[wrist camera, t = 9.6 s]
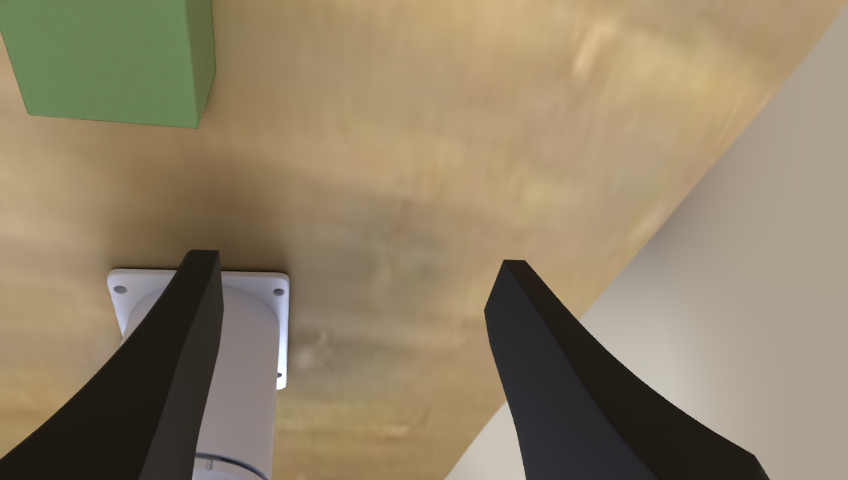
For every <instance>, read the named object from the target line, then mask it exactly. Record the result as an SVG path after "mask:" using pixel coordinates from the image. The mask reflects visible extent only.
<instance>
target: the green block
mask: <svg viewBox="0 0 848 480" xmlns="http://www.w3.org/2000/svg"><path fill="white" fill-rule="evenodd" d="M0 31H1V34H2V37H3V40H4V43H5V46H6V49H7V52H8V55H9V58H10V61H11V65H12V68H13V71H14V74H15V77H16V80H17V83H18V86H19V89H20V92H21V95H22V98H23V101H24V104H25V107H26V110H27V113H28V114H29V115H35V116H48V117H60V118H72V119H84V120H96V121H108V122H121V123H133V124H145V125H157V126H169V127H181V128H194V129H197V128H198V127H199V124H200V121H201V118H202V114H203V111H204V108H205V104H206V101H207V98H208V95H209V91H210V88H211V85H212V82H213V78H214V75H215V72H216V63H215V49H214V35H213V20H212V6H211V0H0Z"/></svg>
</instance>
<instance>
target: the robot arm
mask: <svg viewBox="0 0 848 480" xmlns="http://www.w3.org/2000/svg"><path fill="white" fill-rule="evenodd" d="M106 282H107V285H108V289H109V292H110V296H111V299H112V303H113V306H114V310H115V313H116V317H117V320H118V324H119V327H120V331H121V334H122V341H121V344H120V347H119V349H118V350H117V351H116V353H115V354H114V355H113V356H112V357H111V358H110V359H109V360H108V361H107V363H106V364H105V365H104V366H103V367H102V368H101V369H100V370H99V371H98V372H97V373H96V374H95V375H94V376H93V377H92V378H91V379H90V380H89V381H88V382H87V383H86V384H85V385H84V386H83V387H82V388H81V389H80V390H79V391H78V392H77V393H76V394H75V395H74V396H73V397H72V398H71V399H70V400H69V401H68V402H67V403H66V404H65V405H64V406H63V407H61V408H60V409H59V410H58V411H57V412H56V413H55V414H54V415H53V416H52V417H50V418H49V419H48V420H47V421H46V422H45V423H44V424H43V425H41V426H40V427H39V428H38V429H37V430H35V431H34V432H33V433H32V434H31V435H29V436H28V437H27V438H26V439H24V440H23V441H22V442H21V443H20V444H18V445H17V446H16V447H15V448H14V449H12V450H11V451H10V452H9V453H8V454H6V455H5V456H4V457H3V458H1V459H0V480H271V475H272V458H273V441H274V424H275V408H276V391H277V389H281V388H284V387H285V386H286V378H287V348H288V318H289V288H290V279H289V277H288V276H287V275H286V274H284V273H273V272H231V271H221V266H220V254H219V250H191V251H189V252H188V253H187V254H186V256H185V258H184V259H183V261H182V263H181V265H180V266H179V268H178V270H146V269H113V270H111V271H110V272H109V273H108V275H107V278H106ZM120 286H123V287H120ZM278 288H279V289H282V290H277V289H278ZM484 313H485V320H486V326H487V332H488V337H489V342H490V346H491V350H492V353H493V357H494V360H495V363H496V366H497V370H498V373H499V376H500V379H501V382H502V385H503V388H504V392H505V395H506V398H507V401H508V404H509V407H510V411H511V414H512V417H513V420H514V424H515V427H516V431H517V436H518V441H519V446H520V451H521V455H522V460H523V465H524V470H525V476H526V480H770V479H769V478H768V476H767V474H766V473H765V471H764V469H763V468H762V466H761V465H760V463H759V462H758V460H757V458H756V457H755V455H753V454H751V453H750V452H748V451H746V450H744V449H743V448H741V447H739V446H738V445H736V444H734V443H732V442H731V441H729V440H727V439H726V438H724V437H722V436H720V435H719V434H717V433H715V432H714V431H712V430H711V429H709V428H707V427H706V426H704V425H703V424H701V423H699V422H698V421H697V420H695V419H694V418H692V417H691V416H689V415H688V414H686V413H685V412H683V411H682V410H680V409H679V408H677V407H676V406H674V405H673V404H672V403H670V402H669V401H668V400H666V399H665V398H664V397H662V396H661V395H660V394H658V393H657V392H656V391H654V390H653V389H652V388H650V387H649V386H648V385H647V384H645V383H644V382H643V381H641V380H640V379H639V378H638V377H637V376H635V375H634V374H633V373H632V372H631V371H630V370H629V369H627V368H626V367H625V366H624V365H623V364H622V363H621V362H619V361H618V360H617V359H616V358H615V357H614V356H613V355H612V354H611V353H609V352H608V351H607V350H606V349H605V348H604V347H603V346H602V345H601V344H600V343H599V342H598V341H597V340H596V339H595V338H594V337H593V336H592V335H591V334H590V333H589V332H588V331H587V330H586V329H585V328H584V327H583V326H582V325H581V324H580V322H579V321H578V320H577V319H576V318H575V317H574V316H573V315H572V314H571V313H570V312H569V310H568V309H567V308H566V307H565V306H564V305H563V304H562V303H561V301H560V300H559V299H558V298H557V297H556V296H555V295H554V293H553V292H552V291H551V290H550V289H549V288H548V286H547V285H546V284H545V283H544V282H543V281H542V279H541V278H540V277H539V276H538V275H537V274H536V272H535V271H534V270H533V269H532V268H531V267H530V266H529V264H528V263H527V262H526V261H525V260H503V263H502V265H501V268H500V271H499V273H498V276H497V278H496V281H495V283H494V286H493V288H492V291H491V293H490V296H489V299H488V301H487V304H486V306H485V309H484Z"/></svg>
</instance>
